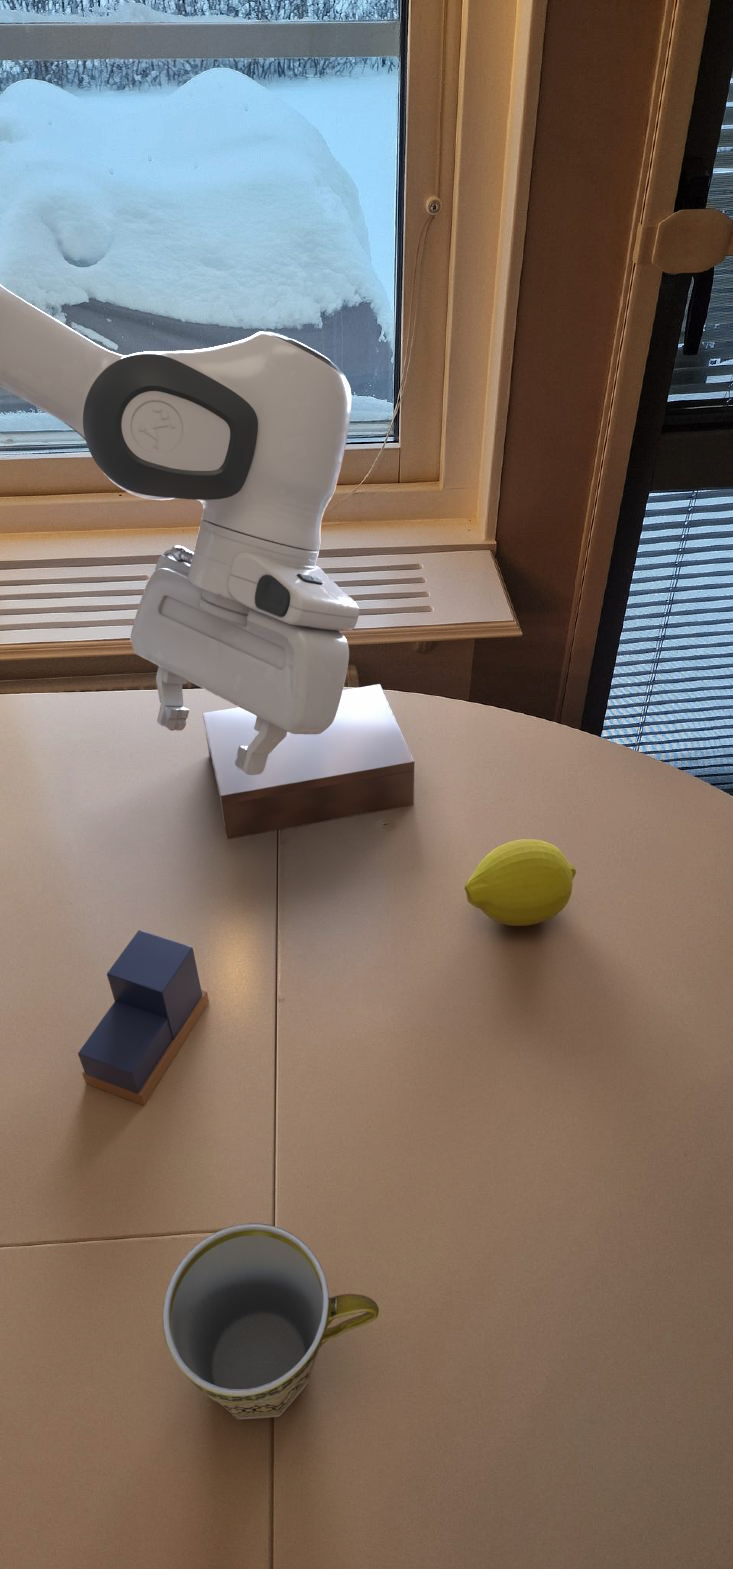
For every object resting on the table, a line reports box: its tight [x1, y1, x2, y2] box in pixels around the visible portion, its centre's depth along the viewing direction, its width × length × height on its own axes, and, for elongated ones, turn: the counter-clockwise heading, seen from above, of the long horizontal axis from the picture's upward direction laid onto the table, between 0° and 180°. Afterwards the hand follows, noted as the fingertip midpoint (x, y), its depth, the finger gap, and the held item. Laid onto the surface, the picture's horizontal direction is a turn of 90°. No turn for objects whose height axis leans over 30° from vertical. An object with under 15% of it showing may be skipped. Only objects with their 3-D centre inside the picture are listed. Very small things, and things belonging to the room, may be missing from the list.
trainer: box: [77, 929, 210, 1106], centre depth 85 cm, size 11×6×8 cm, turn 158°
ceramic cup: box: [162, 1222, 380, 1420], centre depth 66 cm, size 13×10×10 cm
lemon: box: [463, 838, 577, 927], centre depth 96 cm, size 11×8×8 cm
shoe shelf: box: [202, 683, 415, 840], centre depth 111 cm, size 20×14×6 cm
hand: (207, 748), depth 80 cm, fingers open, 8 cm apart
